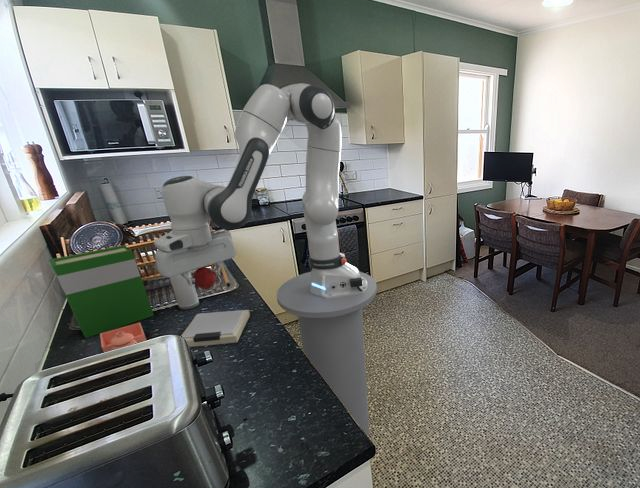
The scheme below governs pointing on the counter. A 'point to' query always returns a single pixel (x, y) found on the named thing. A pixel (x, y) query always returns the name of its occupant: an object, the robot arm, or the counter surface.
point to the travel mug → (184, 292)
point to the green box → (103, 289)
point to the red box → (122, 337)
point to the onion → (204, 278)
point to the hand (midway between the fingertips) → (204, 280)
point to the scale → (216, 328)
